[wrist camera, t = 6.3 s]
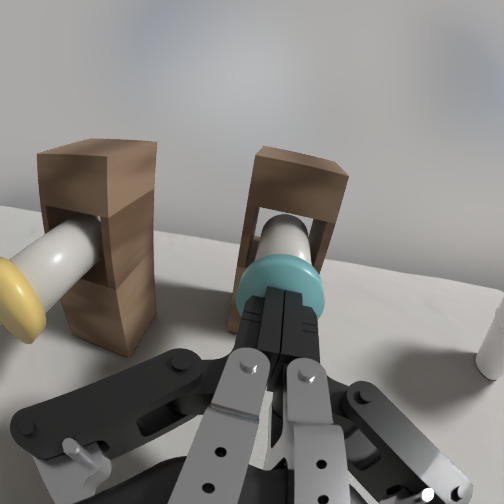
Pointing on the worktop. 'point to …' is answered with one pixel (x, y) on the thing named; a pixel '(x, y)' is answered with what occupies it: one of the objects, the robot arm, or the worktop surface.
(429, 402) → the worktop surface
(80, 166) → the walnut box
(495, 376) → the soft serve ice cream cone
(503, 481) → the worktop surface
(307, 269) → the teal button
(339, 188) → the walnut box
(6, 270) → the ochre button
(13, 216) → the worktop surface
